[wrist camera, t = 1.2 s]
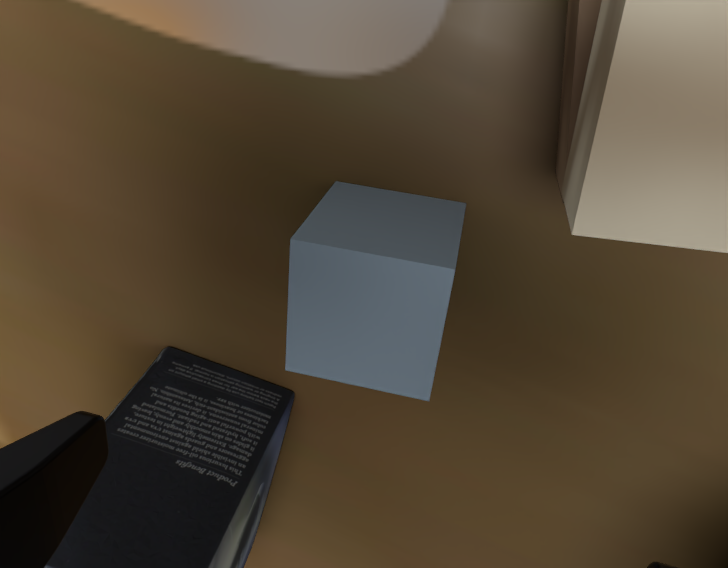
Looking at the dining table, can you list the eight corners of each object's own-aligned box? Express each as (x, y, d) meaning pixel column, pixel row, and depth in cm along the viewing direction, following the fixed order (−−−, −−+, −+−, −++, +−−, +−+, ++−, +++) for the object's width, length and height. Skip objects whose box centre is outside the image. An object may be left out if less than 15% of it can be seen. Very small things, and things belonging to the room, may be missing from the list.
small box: (262, 539, 30) (159, 782, 21) (147, 496, 31) (-3, 717, 22) (304, 391, 25) (190, 632, 16) (163, 340, 25) (-27, 548, 16)
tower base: (748, 167, 17) (790, 202, 15) (555, 170, 19) (562, 203, 16) (797, -45, 15) (858, -47, 12) (569, -25, 16) (581, -23, 13)
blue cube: (444, 315, 22) (428, 401, 17) (327, 292, 22) (285, 370, 18) (466, 202, 19) (455, 269, 15) (336, 180, 20) (290, 239, 16)
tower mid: (770, 212, 15) (825, 264, 12) (561, 190, 16) (571, 234, 13) (862, -15, 12) (955, -9, 10) (607, -27, 13) (631, -23, 11)
